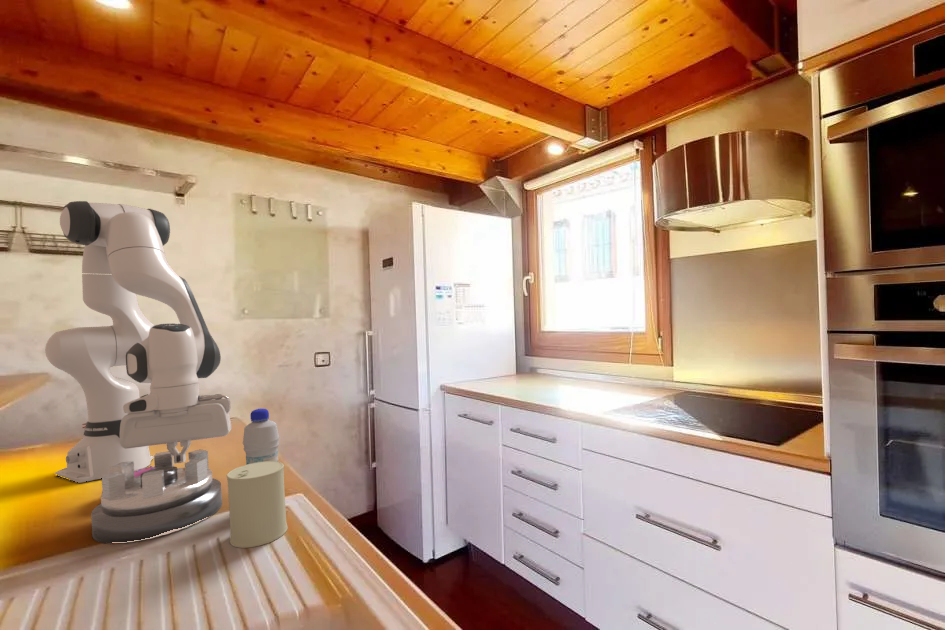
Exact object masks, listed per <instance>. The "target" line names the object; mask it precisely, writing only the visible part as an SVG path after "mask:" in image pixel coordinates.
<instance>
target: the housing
mask: <svg viewBox="0 0 945 630" xmlns="http://www.w3.org/2000/svg"><path fill="white" fill-rule="evenodd" d="M212 481H213V485H212V487H211V489H210V490H209V491H207V492H206V493H204V494H203V495H201V496H199V497H197V498H195V499H192V500H190V501H188V502H185V503H182V504H179V505H176V506H173V507H170V508H166V509H162V510H158V511H153V512H148V513H143V514H135V515H124V516H116V515H108V514H105V513H103V512H102V506H101V503H99V504H98V505H96V506H95V507H94V508H93V509H92V511H91V513H90V517H91V534H92V535H91V536H92V539H93V540H94V541H95V542H98V543H101V544H106V543H112V542H127V541H134V540H141V539H145V538H150V537H153V536H156V535H159V534H161V533H164V532H167V531H170V530H173V529H178V528H182V527H185V526H187V525H190V524H193V523H195V522H197V521H199V520H202V519H204V518H206V517H209V516H211V515H212V516H214V515H215V514H216V513H217V512H218V511H220V509H221V508H222V505H223V497H222V496H223V495H222V483H221V481H220V480H218V479H217V478H213V477H212ZM212 516H211V517H212ZM209 518H210V517H209Z"/></svg>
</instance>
